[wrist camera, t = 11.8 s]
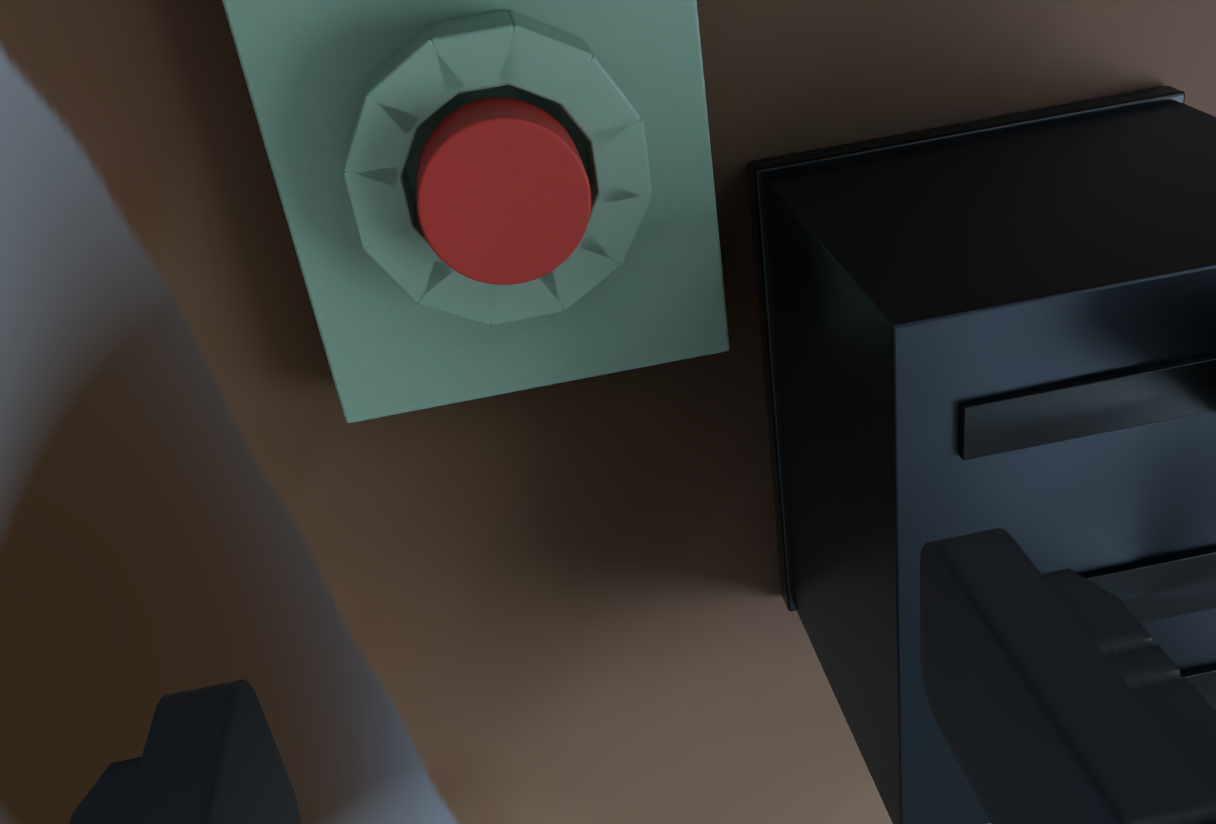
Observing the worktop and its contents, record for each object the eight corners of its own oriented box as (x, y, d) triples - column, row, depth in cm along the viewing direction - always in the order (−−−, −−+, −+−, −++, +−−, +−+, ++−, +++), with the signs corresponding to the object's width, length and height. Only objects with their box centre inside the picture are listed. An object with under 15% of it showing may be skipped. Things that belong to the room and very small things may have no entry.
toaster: (746, 161, 29) (885, 323, 21) (1169, 84, 30) (1480, 209, 21) (781, 597, 37) (896, 857, 28) (1123, 528, 37) (1341, 760, 28)
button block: (213, -94, 25) (179, -74, 21) (662, -167, 25) (699, -160, 22) (351, 385, 31) (341, 461, 27) (712, 316, 31) (748, 383, 28)
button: (399, 112, 24) (398, 134, 23) (568, 82, 24) (577, 103, 23) (436, 269, 26) (436, 300, 24) (592, 241, 26) (603, 269, 25)
